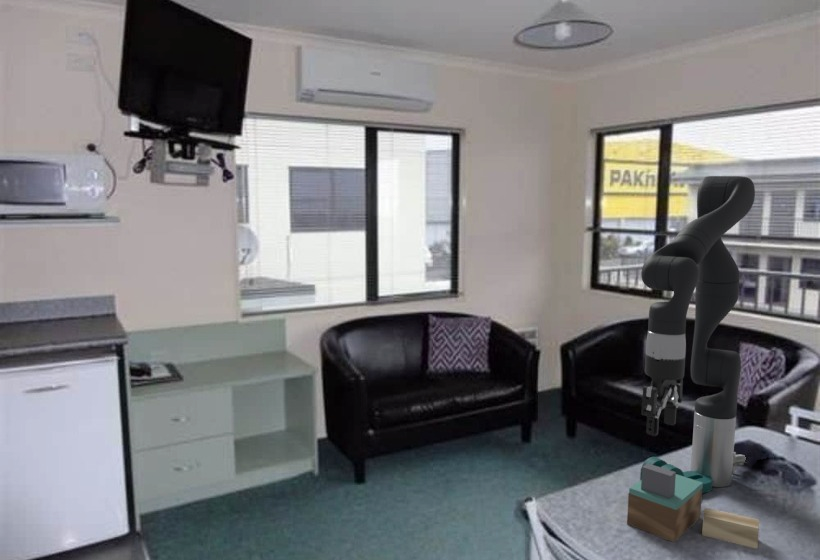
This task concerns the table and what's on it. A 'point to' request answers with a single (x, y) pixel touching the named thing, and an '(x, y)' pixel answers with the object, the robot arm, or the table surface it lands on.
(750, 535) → the pale wooden block
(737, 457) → the caliper
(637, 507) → the open wooden box
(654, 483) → the lid
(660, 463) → the bracket
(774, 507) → the table surface
